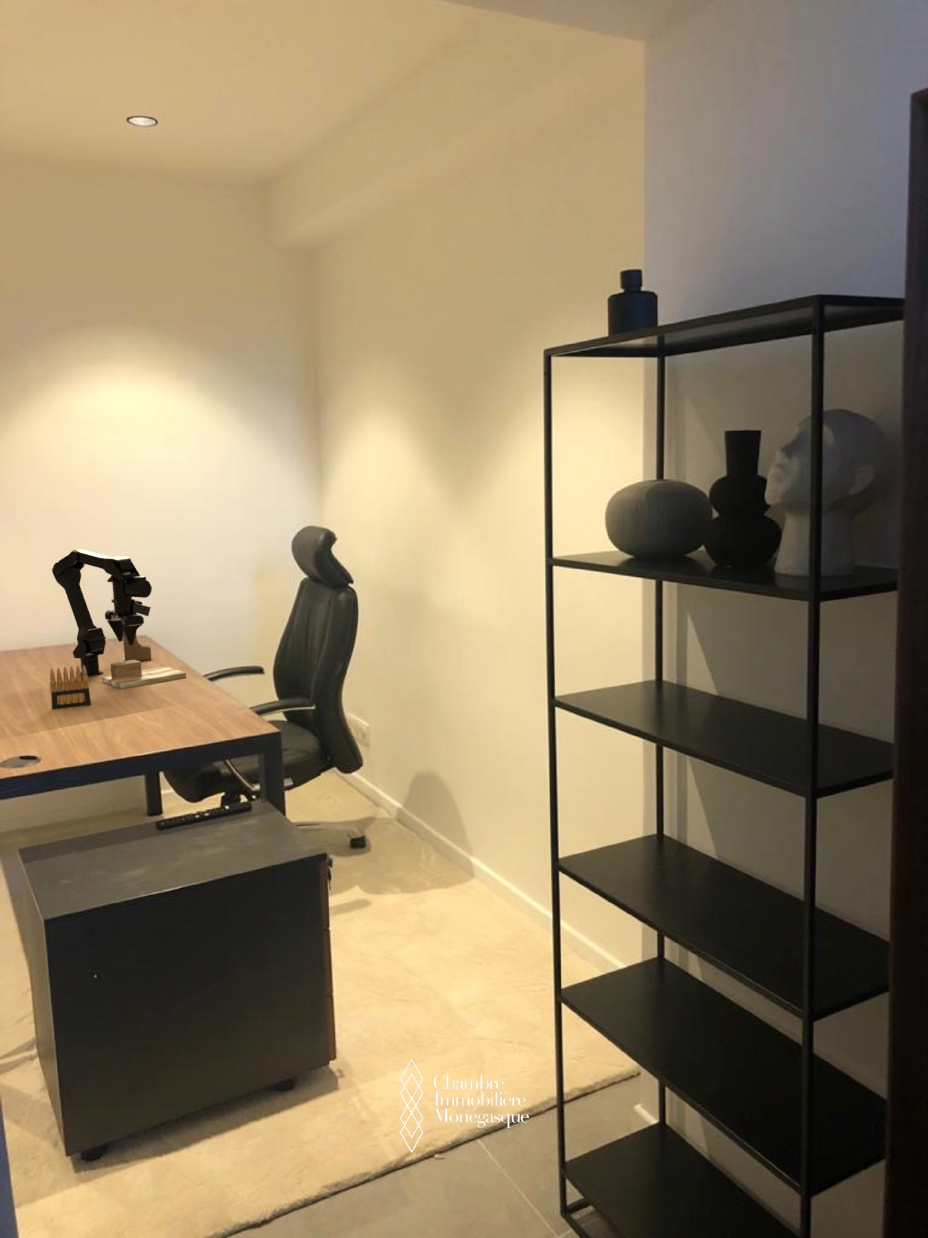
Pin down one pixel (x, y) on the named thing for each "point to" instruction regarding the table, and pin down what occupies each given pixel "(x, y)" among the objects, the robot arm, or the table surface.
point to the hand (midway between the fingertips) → (125, 643)
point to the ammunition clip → (69, 689)
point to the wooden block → (136, 650)
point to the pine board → (147, 677)
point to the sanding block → (126, 670)
